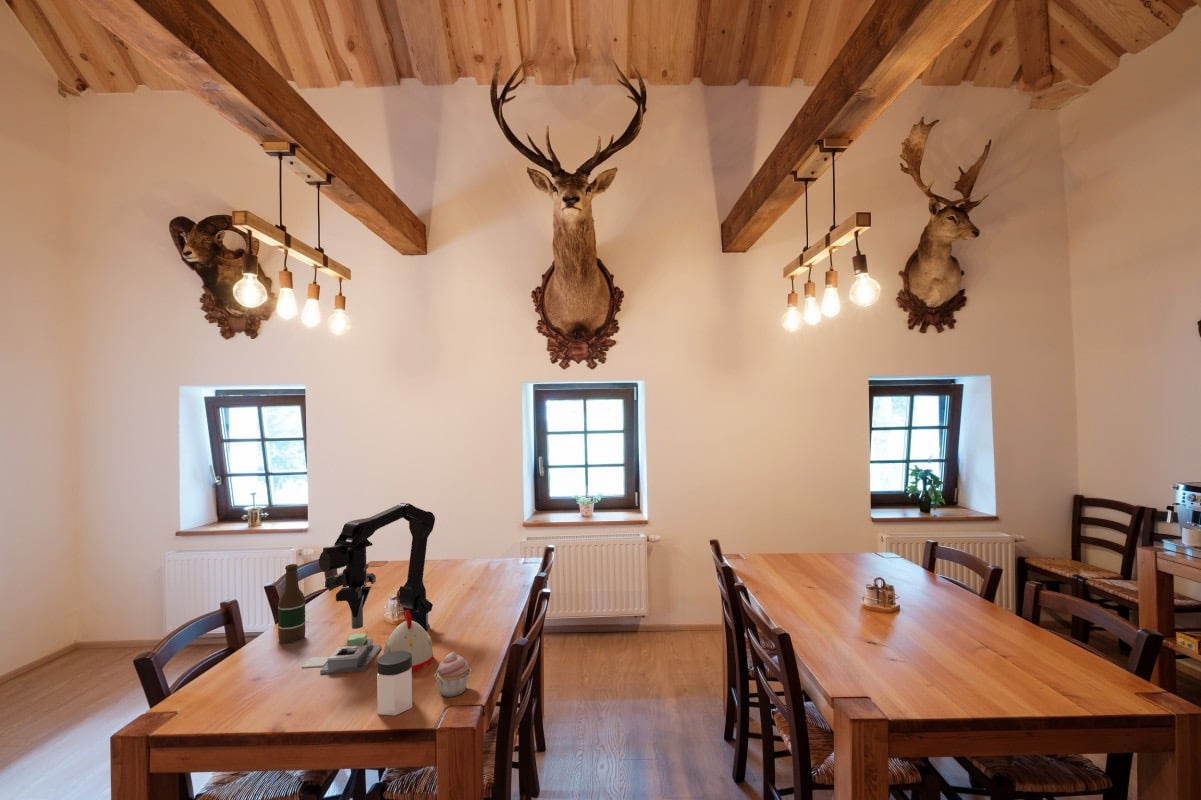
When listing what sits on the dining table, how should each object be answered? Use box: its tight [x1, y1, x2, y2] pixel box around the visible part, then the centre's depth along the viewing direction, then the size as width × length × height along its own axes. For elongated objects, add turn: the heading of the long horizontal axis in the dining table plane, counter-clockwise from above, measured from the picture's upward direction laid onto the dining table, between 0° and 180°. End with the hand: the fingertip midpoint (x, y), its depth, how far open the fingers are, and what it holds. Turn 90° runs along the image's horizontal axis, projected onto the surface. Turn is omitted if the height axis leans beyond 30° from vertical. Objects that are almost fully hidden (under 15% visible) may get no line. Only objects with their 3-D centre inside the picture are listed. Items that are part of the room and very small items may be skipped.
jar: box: [376, 651, 413, 717], centre depth 136 cm, size 9×8×12 cm
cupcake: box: [434, 651, 472, 698], centre depth 143 cm, size 9×9×10 cm
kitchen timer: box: [382, 609, 434, 672], centre depth 161 cm, size 14×14×15 cm
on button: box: [346, 633, 368, 646], centre depth 168 cm, size 4×4×2 cm
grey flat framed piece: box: [319, 638, 382, 675], centre depth 163 cm, size 12×16×4 cm
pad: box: [301, 656, 329, 669], centre depth 162 cm, size 6×6×1 cm
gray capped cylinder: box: [350, 593, 364, 630], centre depth 168 cm, size 4×4×10 cm
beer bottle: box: [277, 563, 306, 644], centre depth 182 cm, size 8×8×24 cm
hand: (357, 615), depth 168 cm, fingers closed on gray capped cylinder, 3 cm apart
